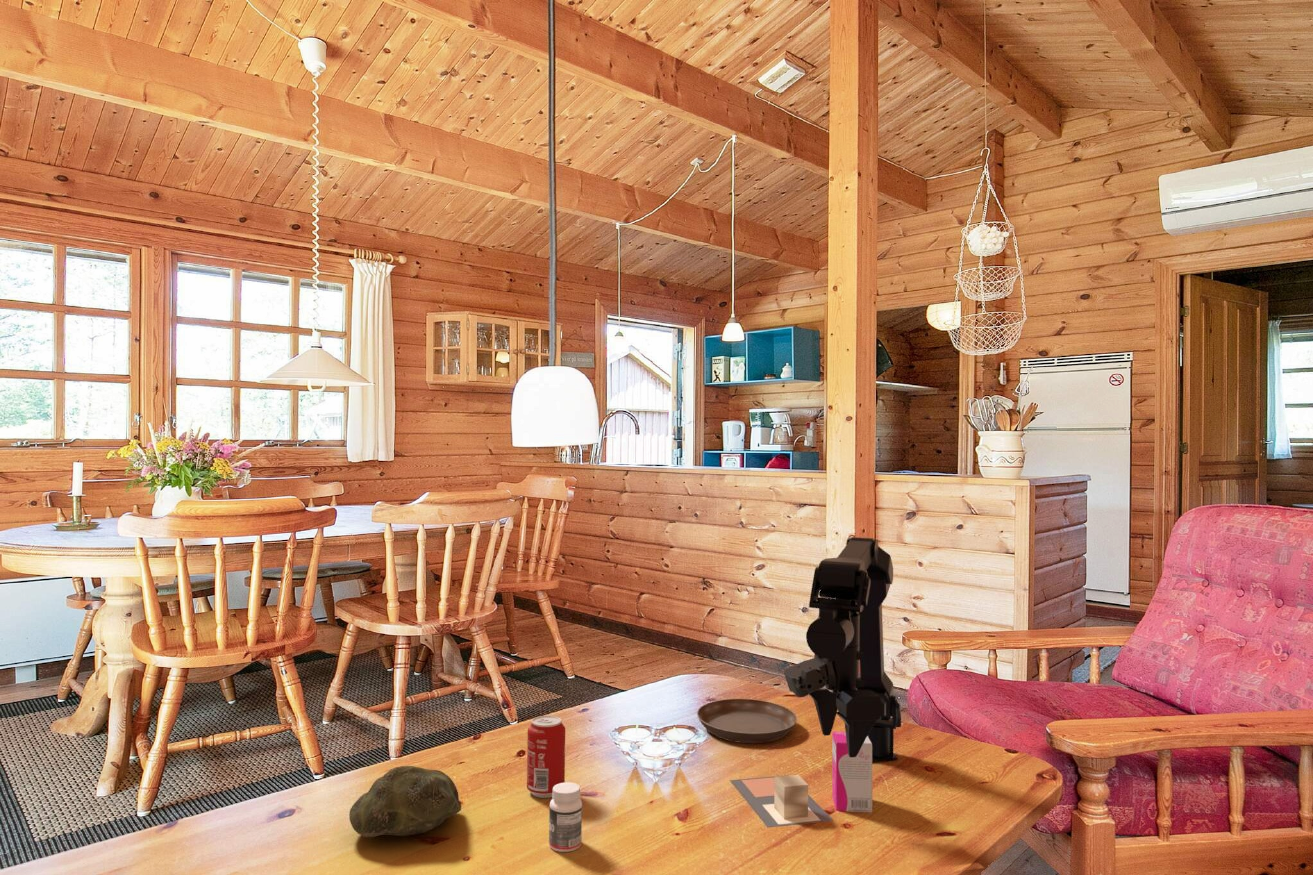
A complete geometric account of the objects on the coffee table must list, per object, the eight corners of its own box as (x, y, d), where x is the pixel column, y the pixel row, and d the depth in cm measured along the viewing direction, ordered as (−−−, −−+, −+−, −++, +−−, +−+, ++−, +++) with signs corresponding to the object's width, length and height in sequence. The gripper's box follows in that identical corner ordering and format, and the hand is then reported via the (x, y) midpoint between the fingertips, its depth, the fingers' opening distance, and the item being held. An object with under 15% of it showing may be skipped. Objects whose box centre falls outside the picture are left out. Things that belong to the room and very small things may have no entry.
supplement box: (866, 800, 135) (867, 731, 135) (872, 816, 129) (873, 744, 130) (831, 798, 136) (832, 729, 136) (835, 814, 130) (836, 742, 130)
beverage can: (571, 788, 138) (572, 717, 139) (551, 802, 133) (552, 728, 133) (539, 781, 141) (541, 712, 141) (519, 795, 135) (520, 722, 136)
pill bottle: (549, 837, 121) (550, 781, 121) (581, 836, 121) (582, 780, 121) (548, 853, 116) (548, 794, 116) (581, 852, 117) (582, 793, 117)
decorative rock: (375, 816, 130) (374, 752, 132) (472, 812, 130) (471, 747, 131) (335, 853, 116) (334, 780, 117) (445, 848, 115) (443, 775, 116)
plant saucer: (804, 749, 159) (804, 732, 159) (698, 747, 159) (698, 729, 159) (788, 714, 180) (788, 699, 180) (695, 712, 180) (695, 697, 180)
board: (788, 778, 144) (788, 774, 144) (834, 824, 126) (834, 820, 126) (729, 783, 141) (729, 779, 141) (767, 831, 124) (767, 827, 124)
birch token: (797, 805, 132) (797, 774, 132) (807, 816, 128) (808, 784, 128) (774, 807, 131) (774, 776, 131) (783, 819, 127) (784, 786, 127)
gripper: (769, 631, 132) (767, 728, 132) (815, 661, 114) (814, 773, 114) (832, 629, 135) (831, 724, 134) (888, 658, 116) (887, 767, 116)
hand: (839, 745), depth 125 cm, fingers open, 9 cm apart
